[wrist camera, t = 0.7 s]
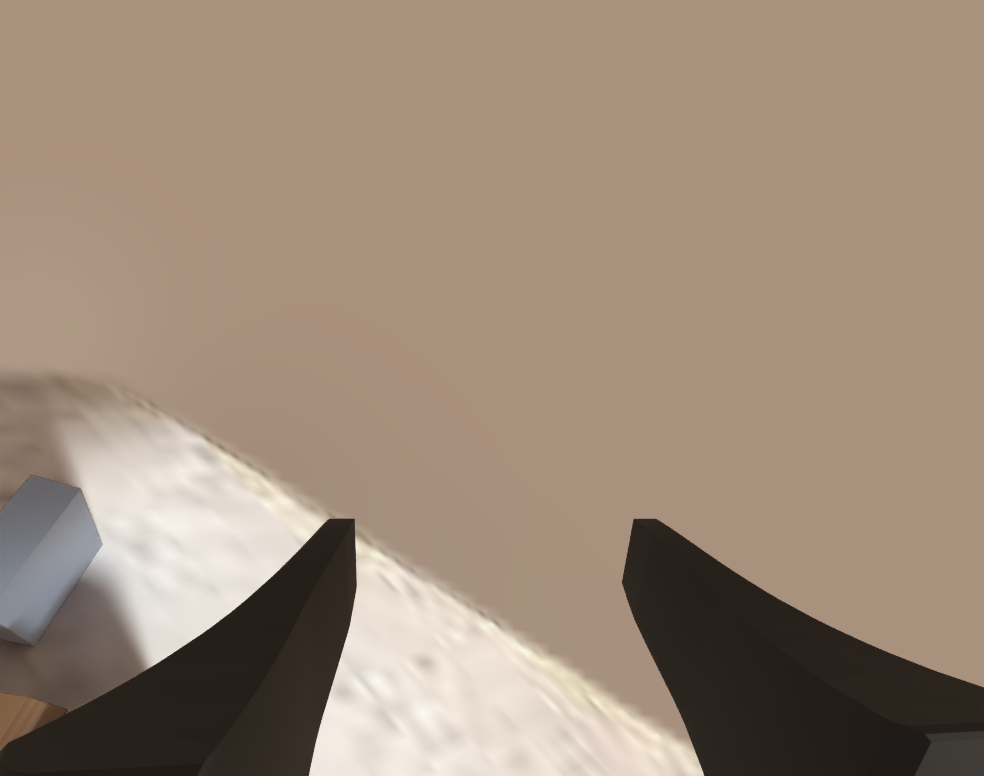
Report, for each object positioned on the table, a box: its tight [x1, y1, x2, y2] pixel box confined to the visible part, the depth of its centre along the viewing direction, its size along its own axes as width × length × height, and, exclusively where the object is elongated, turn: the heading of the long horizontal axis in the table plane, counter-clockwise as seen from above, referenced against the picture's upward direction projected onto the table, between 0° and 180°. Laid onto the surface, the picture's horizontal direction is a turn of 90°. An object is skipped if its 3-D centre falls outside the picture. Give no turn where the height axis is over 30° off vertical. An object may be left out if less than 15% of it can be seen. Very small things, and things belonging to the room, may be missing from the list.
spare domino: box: [0, 475, 102, 646], centre depth 19 cm, size 2×4×7 cm, turn 172°
